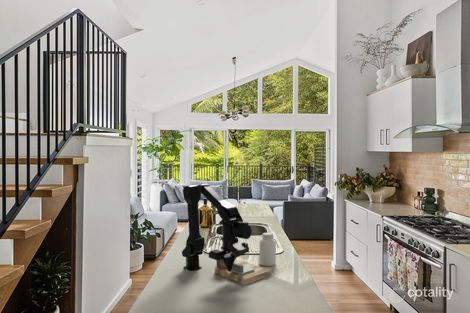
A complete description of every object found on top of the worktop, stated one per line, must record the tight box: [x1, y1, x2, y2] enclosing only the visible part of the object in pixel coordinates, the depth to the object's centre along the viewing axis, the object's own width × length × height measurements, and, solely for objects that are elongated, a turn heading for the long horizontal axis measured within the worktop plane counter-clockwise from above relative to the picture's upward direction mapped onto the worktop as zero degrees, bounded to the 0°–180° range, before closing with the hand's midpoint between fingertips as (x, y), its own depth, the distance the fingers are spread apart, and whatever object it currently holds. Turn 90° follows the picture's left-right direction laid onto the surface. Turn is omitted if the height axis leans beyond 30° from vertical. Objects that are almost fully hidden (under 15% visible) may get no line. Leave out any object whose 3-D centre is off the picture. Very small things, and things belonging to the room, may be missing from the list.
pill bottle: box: [259, 232, 277, 267], centre depth 179 cm, size 8×8×15 cm
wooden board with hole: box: [214, 259, 272, 286], centre depth 165 cm, size 20×16×2 cm
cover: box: [231, 263, 255, 275], centre depth 162 cm, size 8×8×3 cm
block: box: [216, 259, 227, 269], centre depth 167 cm, size 4×4×6 cm
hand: (229, 271), depth 157 cm, fingers closed
